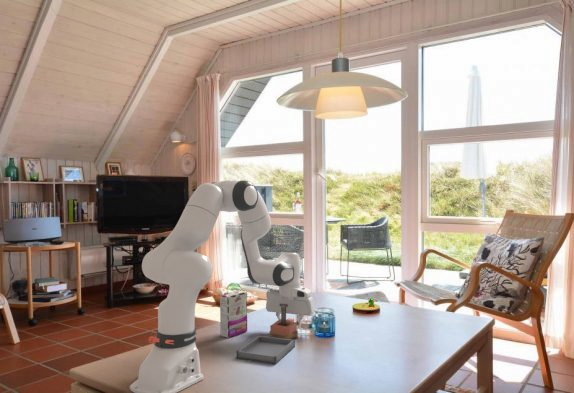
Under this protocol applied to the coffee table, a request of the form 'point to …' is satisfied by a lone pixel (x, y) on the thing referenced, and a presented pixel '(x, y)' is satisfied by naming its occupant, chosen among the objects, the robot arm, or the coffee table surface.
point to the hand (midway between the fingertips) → (289, 324)
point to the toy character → (371, 302)
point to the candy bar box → (233, 314)
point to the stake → (283, 323)
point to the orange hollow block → (284, 327)
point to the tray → (266, 349)
